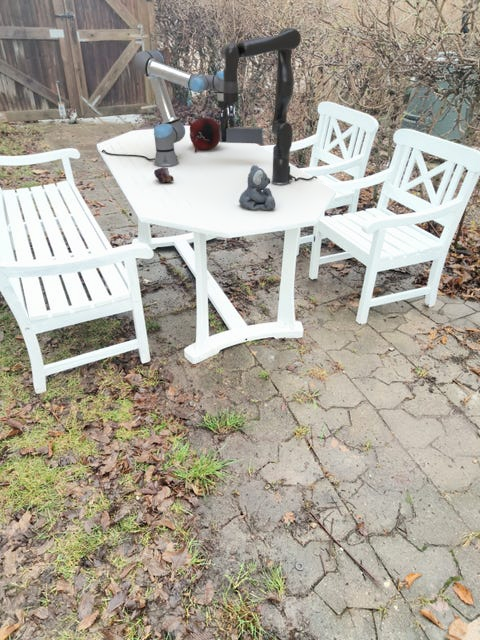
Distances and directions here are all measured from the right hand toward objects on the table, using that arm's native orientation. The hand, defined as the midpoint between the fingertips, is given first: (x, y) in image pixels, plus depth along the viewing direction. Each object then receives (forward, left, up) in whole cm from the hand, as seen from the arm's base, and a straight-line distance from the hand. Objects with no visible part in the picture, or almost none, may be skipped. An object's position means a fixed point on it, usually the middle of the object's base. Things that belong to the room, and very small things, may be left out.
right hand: (231, 125), depth 233 cm
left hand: (-10, -51, -19) cm, 55 cm away
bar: (-20, -46, -20) cm, 54 cm away
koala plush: (-4, +30, -33) cm, 45 cm away
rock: (+35, -24, -33) cm, 54 cm away
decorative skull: (-8, -93, -33) cm, 99 cm away
